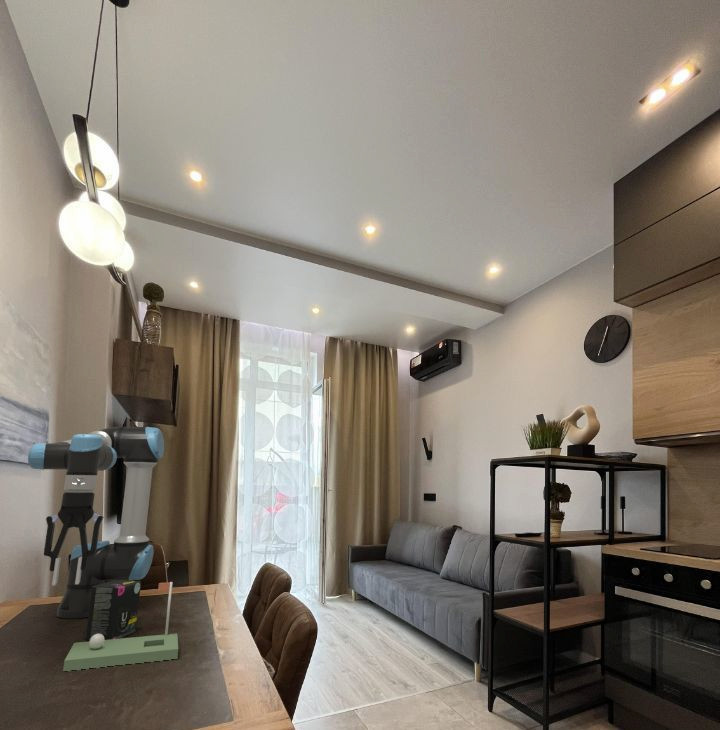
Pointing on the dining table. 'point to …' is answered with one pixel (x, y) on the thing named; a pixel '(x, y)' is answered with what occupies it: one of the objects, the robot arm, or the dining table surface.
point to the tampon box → (113, 609)
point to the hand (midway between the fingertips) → (66, 583)
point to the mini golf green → (125, 648)
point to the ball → (96, 641)
